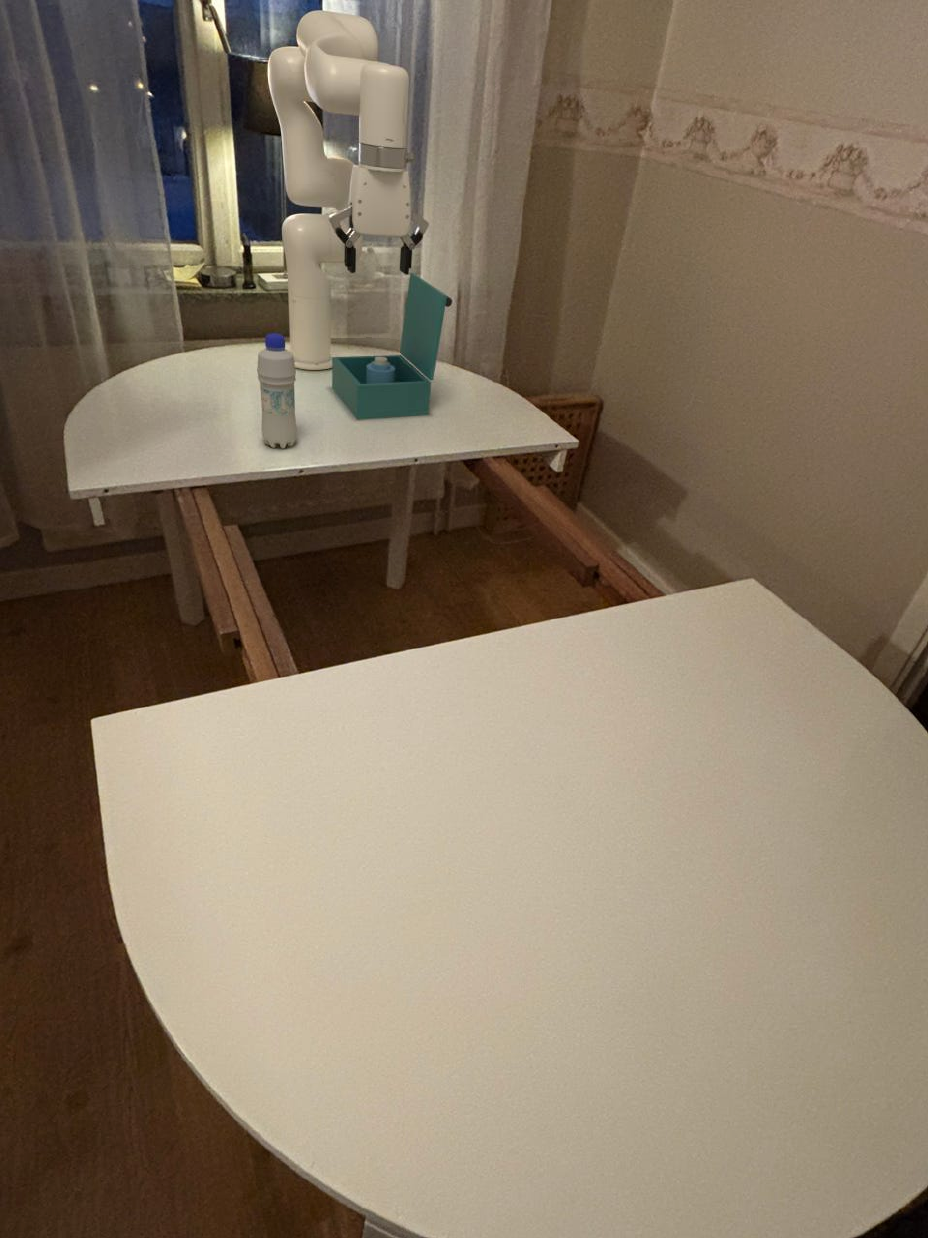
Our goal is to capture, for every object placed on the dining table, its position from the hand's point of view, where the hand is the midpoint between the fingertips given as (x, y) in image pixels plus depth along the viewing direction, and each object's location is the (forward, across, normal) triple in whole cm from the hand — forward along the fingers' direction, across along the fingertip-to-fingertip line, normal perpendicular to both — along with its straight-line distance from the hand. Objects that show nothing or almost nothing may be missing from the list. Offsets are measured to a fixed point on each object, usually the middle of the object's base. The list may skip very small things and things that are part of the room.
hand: (378, 271), depth 130 cm
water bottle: (+29, -6, -16) cm, 33 cm away
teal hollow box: (+30, -6, -16) cm, 34 cm away
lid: (+14, -15, -17) cm, 26 cm away
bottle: (+30, +19, +3) cm, 36 cm away
